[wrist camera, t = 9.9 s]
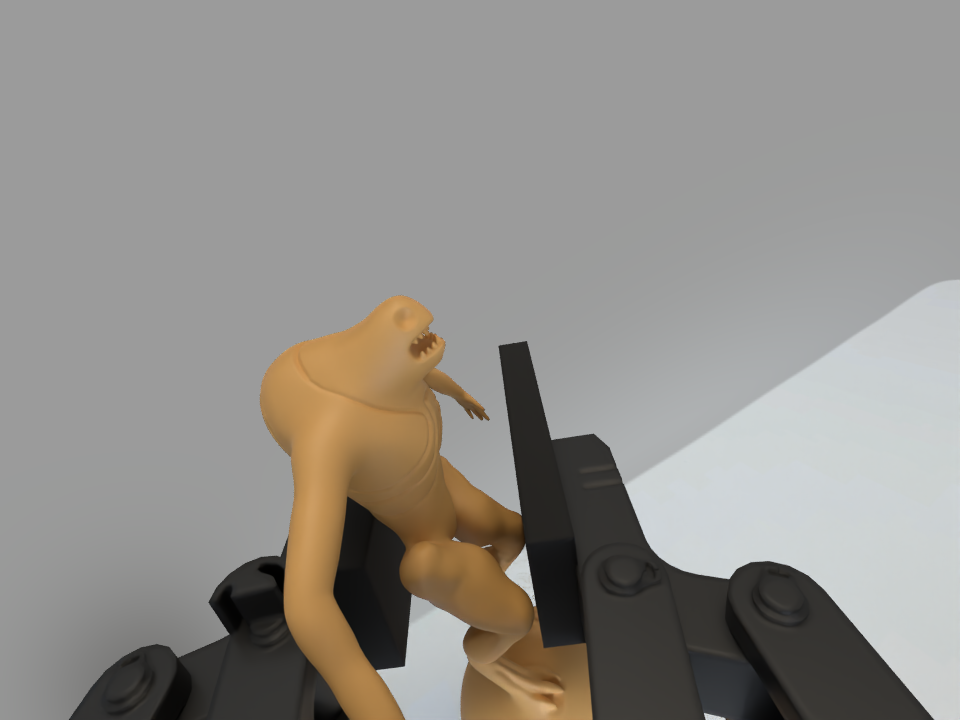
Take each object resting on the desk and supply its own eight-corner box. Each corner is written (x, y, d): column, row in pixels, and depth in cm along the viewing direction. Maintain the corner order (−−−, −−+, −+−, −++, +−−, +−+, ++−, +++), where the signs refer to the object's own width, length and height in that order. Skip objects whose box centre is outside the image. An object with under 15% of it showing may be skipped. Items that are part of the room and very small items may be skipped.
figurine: (690, 1022, 9) (901, 509, 3) (346, 1017, 9) (-35, 552, 3) (601, 595, 16) (614, 206, 10) (412, 602, 16) (323, 230, 11)
